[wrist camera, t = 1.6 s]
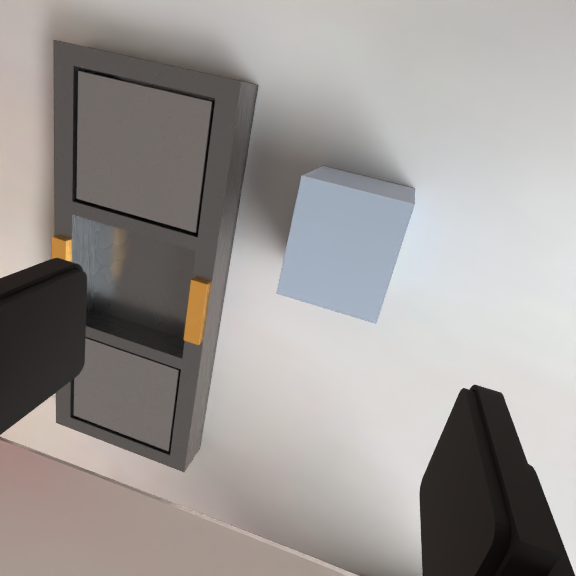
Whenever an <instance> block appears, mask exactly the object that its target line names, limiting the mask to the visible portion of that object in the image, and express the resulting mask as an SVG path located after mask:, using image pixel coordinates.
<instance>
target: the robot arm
mask: <svg viewBox="0 0 576 576" xmlns="http://www.w3.org/2000/svg"><path fill="white" fill-rule="evenodd" d="M86 303H87V275H86V273H85V272H84V271H83V269H82V267H81V266H80V265H79V264H77V263H73V262H70V261H67V260H64V259H60V258H53V259H51V260H48V261H45V262H43V263H40V264H37V265H35V266H32V267H29V268H27V269H24V270H21V271H19V272H16V273H14V274H11V275H8V276H6V277H3V278H0V435H1V434H2V433H3V432H5V431H6V430H7V429H9V428H10V427H11V426H12V425H14V424H15V423H16V422H18V421H19V420H20V419H22V418H23V417H24V416H26V415H27V414H28V413H29V412H31V411H32V410H33V409H35V408H36V407H37V406H39V405H40V404H41V403H43V402H44V401H45V400H47V399H48V398H49V397H50V396H52V395H53V394H54V393H56V392H57V391H58V390H60V389H61V388H62V387H64V386H65V385H66V384H67V383H69V382H70V381H71V380H73V379H74V378H75V377H77V376H78V375H79V374H80V372H81V371H82V369H83V367H84V363H85V336H86ZM420 518H421V544H422V569H423V576H575V574H574V572H573V569H572V566H571V564H570V561H569V558H568V556H567V553H566V550H565V548H564V545H563V542H562V540H561V537H560V534H559V532H558V529H557V527H556V524H555V521H554V519H553V516H552V513H551V511H550V508H549V505H548V503H547V500H546V497H545V495H544V492H543V490H542V487H541V484H540V482H539V479H538V476H537V474H536V472H535V470H534V468H533V467H532V466H531V465H529V464H528V463H527V460H526V457H525V454H524V452H523V449H522V446H521V443H520V441H519V438H518V435H517V432H516V430H515V427H514V424H513V421H512V419H511V416H510V413H509V410H508V408H507V405H506V402H505V399H504V397H503V395H502V393H500V392H497V391H494V390H491V389H487V388H484V387H481V386H477V385H473V386H472V387H471V388H470V390H468V389H465V388H463V389H462V390H461V391H460V393H459V395H458V397H457V399H456V402H455V404H454V406H453V409H452V411H451V413H450V416H449V418H448V420H447V423H446V425H445V427H444V430H443V432H442V434H441V437H440V439H439V441H438V444H437V446H436V448H435V451H434V453H433V455H432V457H431V460H430V462H429V464H428V467H427V469H426V471H425V474H424V476H423V479H422V482H421V486H420ZM0 576H359V575H356V574H354V573H351V572H348V571H346V570H343V569H341V568H339V567H336V566H334V565H331V564H329V563H326V562H324V561H321V560H319V559H316V558H314V557H311V556H309V555H306V554H304V553H301V552H298V551H296V550H293V549H291V548H288V547H286V546H283V545H280V544H278V543H275V542H273V541H270V540H268V539H265V538H262V537H260V536H257V535H255V534H252V533H250V532H247V531H244V530H242V529H239V528H237V527H234V526H232V525H229V524H227V523H224V522H221V521H219V520H216V519H214V518H211V517H209V516H206V515H203V514H201V513H198V512H196V511H193V510H191V509H188V508H185V507H183V506H180V505H178V504H175V503H172V502H170V501H167V500H165V499H162V498H159V497H157V496H154V495H152V494H149V493H146V492H144V491H141V490H139V489H136V488H133V487H131V486H128V485H126V484H123V483H120V482H118V481H115V480H113V479H110V478H107V477H105V476H102V475H99V474H97V473H94V472H92V471H89V470H86V469H84V468H81V467H78V466H76V465H73V464H71V463H68V462H65V461H63V460H60V459H58V458H55V457H52V456H50V455H47V454H44V453H42V452H39V451H37V450H34V449H31V448H29V447H26V446H23V445H21V444H18V443H15V442H13V441H10V440H7V439H5V438H2V437H0Z"/></svg>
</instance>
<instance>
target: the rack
mask: <svg viewBox="0 0 576 576" xmlns="http://www.w3.org/2000/svg"><path fill="white" fill-rule="evenodd" d="M257 90H258V85H255V84H251V83H247V82H243V81H238V80H234V79H229V78H225V77H220V76H216V75H211V74H207V73H202V72H197V71H193V70H188V69H184V68H179V67H175V66H170V65H166V64H161V63H157V62H152V61H147V60H143V59H138V58H134V57H129V56H125V55H120V54H116V53H111V52H107V51H102V50H97V49H93V48H88V47H84V46H79V45H75V44H70V43H66V42H61V41H57V40H54V180H55V236H53V237H51V249H52V259H53V258H60V259H64V260H67V261H70V262H73V263H77V264H79V265H80V266H81V267H82V269H83V271H84V272H85V273H86V275H87V303H86V336H85V363H84V367H83V369H82V371H81V372H80V374H79V375H78V376H77V377H75V378H74V379H73V380H71V381H70V382H69V383H67V384H66V385H65V386H64V387H62V388H61V389H60V390H58V391H57V392H56V423H58V424H61V425H63V426H66V427H69V428H71V429H74V430H76V431H79V432H82V433H84V434H87V435H89V436H92V437H94V438H97V439H100V440H102V441H105V442H107V443H110V444H113V445H115V446H118V447H120V448H123V449H125V450H128V451H131V452H133V453H136V454H138V455H141V456H144V457H146V458H149V459H151V460H154V461H157V462H159V463H162V464H164V465H167V466H169V467H172V468H175V469H177V470H180V471H182V472H185V470H186V469H187V467H188V466H189V464H190V463H191V461H192V460H193V458H194V457H195V455H196V454H197V452H198V451H199V449H200V445H201V439H202V433H203V426H204V420H205V414H206V408H207V401H208V395H209V389H210V383H211V377H212V370H213V364H214V358H215V352H216V345H217V339H218V333H219V327H220V321H221V314H222V308H223V302H224V296H225V289H226V283H227V277H228V271H229V264H230V258H231V252H232V246H233V240H234V233H235V227H236V221H237V215H238V208H239V202H240V196H241V190H242V183H243V177H244V171H245V165H246V159H247V152H248V146H249V140H250V134H251V127H252V121H253V115H254V109H255V103H256V96H257Z"/></svg>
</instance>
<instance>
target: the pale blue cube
mask: <svg viewBox="0 0 576 576" xmlns="http://www.w3.org/2000/svg"><path fill="white" fill-rule="evenodd" d="M414 204H415V188H411V187H407V186H403V185H399V184H395V183H391V182H387V181H383V180H379V179H375V178H370V177H366V176H362V175H358V174H354V173H350V172H346V171H342V170H338V169H334V168H330V167H326V166H321V167H319V168H317V169H315V170H312V171H310V172H308V173H306V174H304V175H301V180H300V185H299V190H298V194H297V199H296V204H295V208H294V213H293V218H292V223H291V227H290V232H289V237H288V241H287V246H286V251H285V256H284V260H283V265H282V270H281V274H280V279H279V284H278V288H277V293H276V294H280V295H283V296H286V297H290V298H293V299H296V300H299V301H303V302H306V303H309V304H313V305H316V306H319V307H322V308H326V309H329V310H332V311H336V312H339V313H342V314H345V315H349V316H352V317H355V318H359V319H362V320H365V321H368V322H372V323H375V324H376V323H377V320H378V317H379V313H380V310H381V307H382V304H383V301H384V298H385V295H386V292H387V289H388V285H389V282H390V279H391V276H392V273H393V270H394V267H395V264H396V260H397V257H398V254H399V251H400V248H401V245H402V242H403V239H404V236H405V232H406V229H407V226H408V223H409V220H410V217H411V214H412V211H413V208H414Z"/></svg>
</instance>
